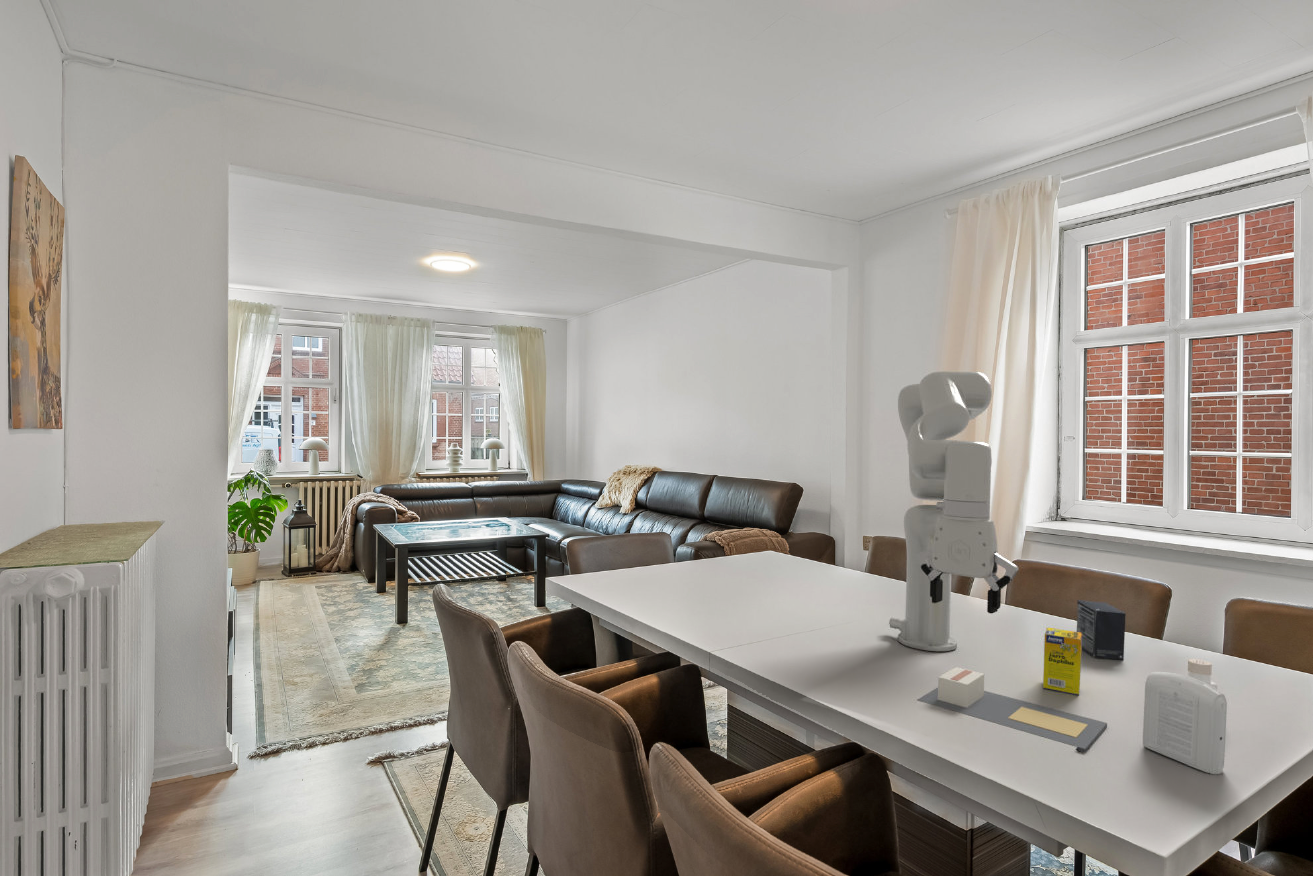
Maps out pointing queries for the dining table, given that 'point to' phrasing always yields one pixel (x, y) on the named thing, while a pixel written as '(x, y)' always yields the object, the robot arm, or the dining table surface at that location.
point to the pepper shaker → (1200, 671)
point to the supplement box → (1062, 661)
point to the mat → (1028, 718)
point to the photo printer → (1185, 720)
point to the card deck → (961, 687)
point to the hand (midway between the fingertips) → (964, 607)
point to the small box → (1101, 629)
